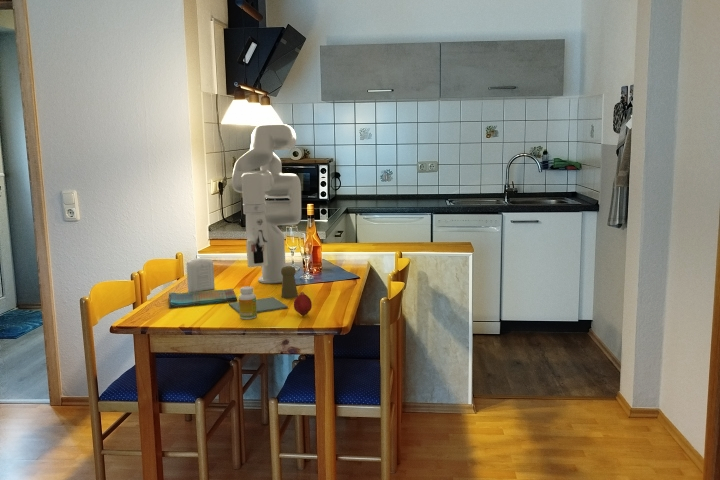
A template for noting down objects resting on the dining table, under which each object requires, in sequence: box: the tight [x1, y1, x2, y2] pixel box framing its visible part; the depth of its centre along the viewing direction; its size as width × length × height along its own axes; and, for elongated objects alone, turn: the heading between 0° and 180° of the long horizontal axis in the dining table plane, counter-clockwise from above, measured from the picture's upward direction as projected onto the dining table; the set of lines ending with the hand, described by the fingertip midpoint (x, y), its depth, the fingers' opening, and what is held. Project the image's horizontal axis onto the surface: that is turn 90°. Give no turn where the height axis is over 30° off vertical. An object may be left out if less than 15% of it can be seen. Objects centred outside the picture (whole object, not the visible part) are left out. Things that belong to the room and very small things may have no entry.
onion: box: [293, 291, 313, 317], centre depth 217 cm, size 6×6×8 cm
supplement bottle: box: [238, 286, 258, 320], centre depth 217 cm, size 5×5×10 cm
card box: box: [245, 239, 268, 269], centre depth 232 cm, size 6×2×9 cm, turn 116°
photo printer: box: [186, 257, 216, 293], centre depth 255 cm, size 10×4×12 cm, turn 123°
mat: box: [228, 296, 289, 315], centre depth 230 cm, size 16×15×1 cm
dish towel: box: [168, 288, 238, 309], centre depth 243 cm, size 17×23×2 cm
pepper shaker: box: [280, 265, 299, 300], centre depth 242 cm, size 6×6×11 cm
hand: (257, 262), depth 232 cm, fingers closed on card box, 2 cm apart
